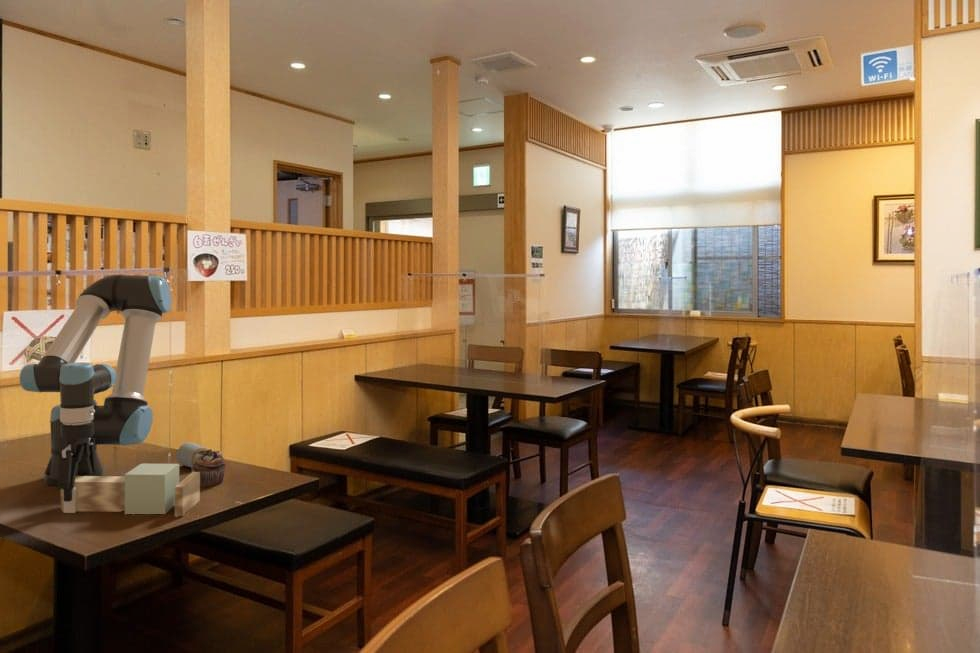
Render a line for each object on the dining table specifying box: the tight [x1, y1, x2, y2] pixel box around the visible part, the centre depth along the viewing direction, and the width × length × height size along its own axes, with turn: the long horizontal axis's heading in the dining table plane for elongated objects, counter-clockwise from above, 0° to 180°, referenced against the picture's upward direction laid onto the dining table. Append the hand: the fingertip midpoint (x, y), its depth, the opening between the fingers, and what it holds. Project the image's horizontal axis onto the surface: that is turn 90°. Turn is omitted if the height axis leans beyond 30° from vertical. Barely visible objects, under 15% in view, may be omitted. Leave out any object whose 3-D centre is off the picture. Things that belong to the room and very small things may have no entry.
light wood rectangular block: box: [60, 475, 125, 513], centre depth 176 cm, size 16×5×8 cm, turn 95°
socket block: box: [124, 462, 180, 516], centre depth 178 cm, size 10×10×11 cm
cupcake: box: [190, 449, 227, 487], centre depth 200 cm, size 10×10×10 cm
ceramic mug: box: [176, 441, 209, 468], centre depth 216 cm, size 11×8×8 cm
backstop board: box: [174, 471, 201, 517], centre depth 178 cm, size 2×13×8 cm, turn 5°
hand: (78, 506), depth 176 cm, fingers open, 7 cm apart
